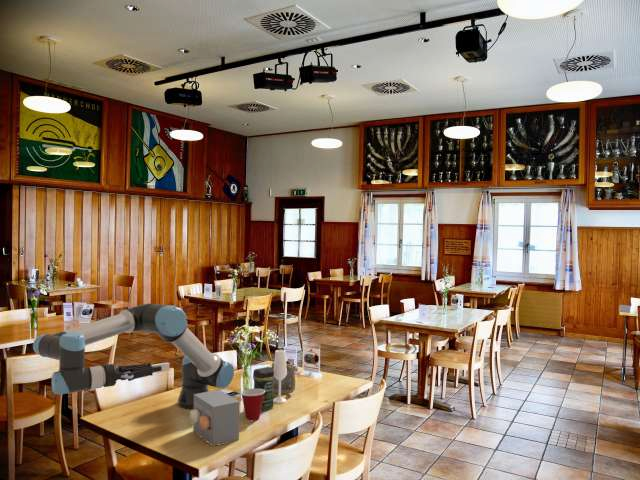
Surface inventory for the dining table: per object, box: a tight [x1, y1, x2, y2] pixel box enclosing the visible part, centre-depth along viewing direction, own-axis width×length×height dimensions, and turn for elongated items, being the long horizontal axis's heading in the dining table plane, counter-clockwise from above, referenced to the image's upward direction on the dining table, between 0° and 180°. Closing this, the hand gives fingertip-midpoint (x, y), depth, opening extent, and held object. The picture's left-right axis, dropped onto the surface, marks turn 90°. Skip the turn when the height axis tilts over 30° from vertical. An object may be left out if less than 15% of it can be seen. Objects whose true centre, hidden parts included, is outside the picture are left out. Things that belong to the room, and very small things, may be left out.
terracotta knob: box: [199, 415, 211, 431], centre depth 194 cm, size 5×11×5 cm, turn 128°
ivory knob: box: [189, 409, 201, 425], centre depth 200 cm, size 5×11×5 cm, turn 128°
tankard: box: [271, 360, 299, 395], centre depth 255 cm, size 20×13×15 cm, turn 33°
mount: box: [192, 389, 241, 447], centre depth 198 cm, size 18×11×15 cm, turn 38°
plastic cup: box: [240, 388, 265, 422], centre depth 217 cm, size 11×11×12 cm
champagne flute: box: [273, 349, 287, 404], centre depth 241 cm, size 7×7×24 cm
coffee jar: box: [252, 366, 274, 412], centre depth 230 cm, size 10×8×19 cm
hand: (168, 366), depth 188 cm, fingers closed
